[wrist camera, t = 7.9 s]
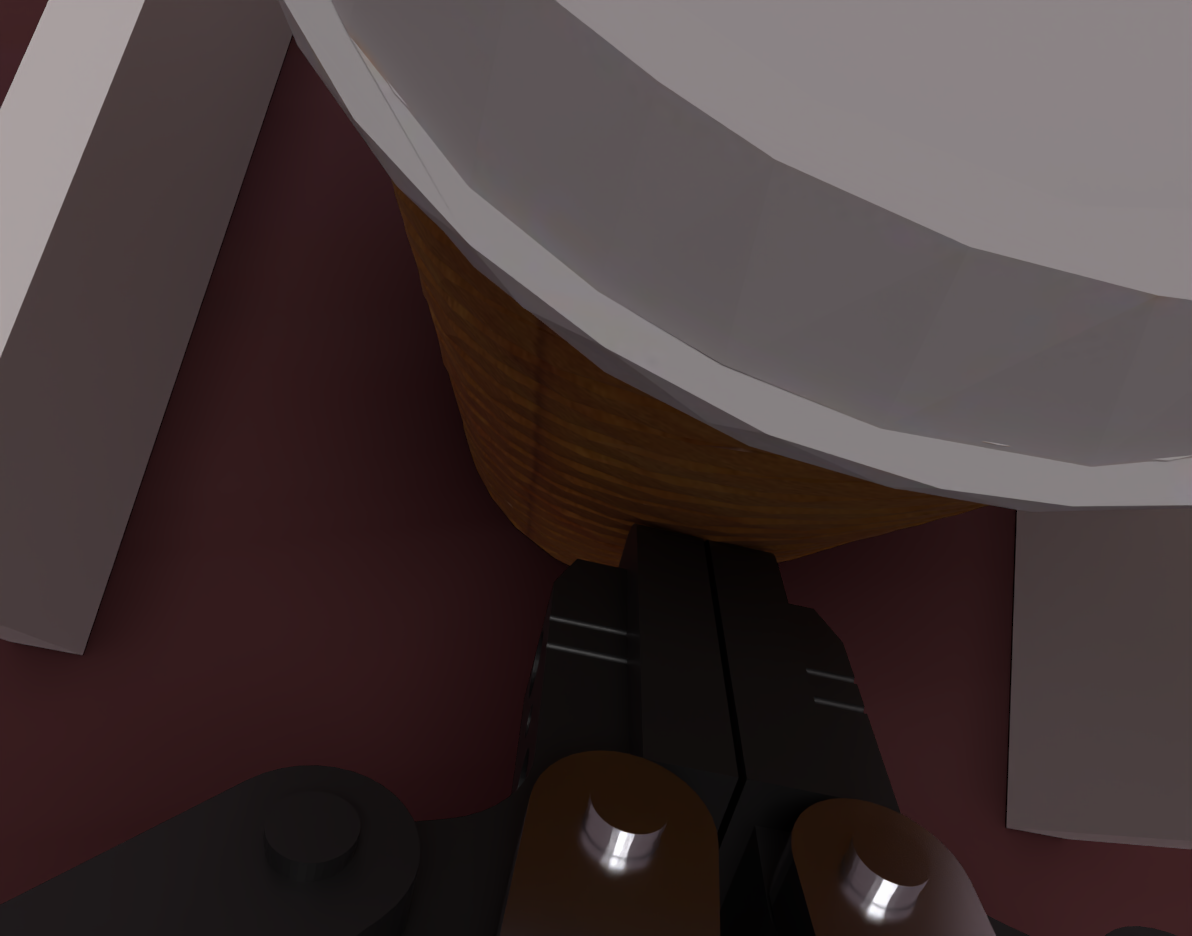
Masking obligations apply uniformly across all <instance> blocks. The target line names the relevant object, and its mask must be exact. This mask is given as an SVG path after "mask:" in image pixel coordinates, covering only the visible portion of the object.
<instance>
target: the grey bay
mask: <svg viewBox="0 0 1192 936" xmlns="http://www.w3.org/2000/svg"><path fill="white" fill-rule="evenodd" d="M291 37H292V31H291V29H290V27H289V24H288V22H287V19H286V17H285V15H284V12H283V10H282V8H281V5H280V3H279V1H278V0H49V1H48V3H47V6H46V8H45V10H44V12H43V15H42V17H41V19H40V21H39V24H38V26H37V28H36V30H35V33H34V35H33V37H32V39H31V42H30V44H29V46H28V48H27V51H26V53H25V55H24V57H23V60H22V62H21V64H20V66H19V69H18V71H17V73H16V75H15V78H14V80H13V82H12V84H11V87H10V89H9V91H8V93H7V96H6V98H5V100H4V102H3V105H2V107H1V109H0V638H1V639H4V640H7V641H10V642H15V643H20V644H25V645H31V646H36V647H41V648H47V649H52V650H58V651H63V652H68V653H74V654H79V655H83V653H84V650H85V647H86V644H87V641H88V638H89V635H90V632H91V629H92V626H93V623H94V620H95V617H96V614H97V611H98V608H99V605H100V602H101V599H102V596H103V593H104V590H105V587H106V584H107V582H108V579H109V576H110V573H111V570H112V567H113V564H114V561H115V558H116V555H117V552H118V549H119V546H120V543H121V540H122V537H123V534H124V531H125V528H126V525H127V522H128V519H129V516H130V513H131V511H132V508H133V505H134V502H135V499H136V496H137V493H138V490H139V487H140V484H141V481H142V478H143V475H144V472H145V469H146V466H147V463H148V460H149V457H150V454H151V451H152V448H153V445H154V442H155V440H156V437H157V434H158V431H159V428H160V425H161V422H162V419H163V416H164V413H165V410H166V407H167V404H168V401H169V398H170V395H171V392H172V389H173V386H174V383H175V380H176V377H177V374H178V371H179V368H180V366H181V363H182V360H183V357H184V354H185V351H186V348H187V345H188V342H189V339H190V336H191V333H192V330H193V327H194V324H195V321H196V318H197V315H198V312H199V309H200V306H201V303H202V300H203V297H204V295H205V292H206V289H207V286H208V283H209V280H210V277H211V274H212V271H213V268H214V265H215V262H216V259H217V256H218V253H219V250H220V247H221V244H222V241H223V238H224V235H225V232H226V229H227V226H228V224H229V221H230V218H231V215H232V212H233V209H234V206H235V203H236V200H237V197H238V194H239V191H240V188H241V185H242V182H243V179H244V176H245V173H246V170H247V167H248V164H249V161H250V158H251V155H252V153H253V150H254V147H255V144H256V141H257V138H258V135H259V132H260V129H261V126H262V123H263V120H264V117H265V114H266V111H267V108H268V105H269V102H270V99H271V96H272V93H273V90H274V87H275V84H276V81H277V79H278V76H279V73H280V70H281V67H282V64H283V61H284V58H285V55H286V52H287V49H288V46H289V43H290V40H291ZM1006 828H1011V829H1016V830H1022V831H1027V832H1032V833H1038V834H1043V835H1048V836H1054V837H1059V838H1064V839H1074V840H1086V841H1098V842H1110V843H1122V844H1134V845H1146V846H1158V847H1170V848H1182V849H1192V509H1148V510H1105V511H1061V512H1026V511H1021V510H1017V524H1016V554H1015V584H1014V614H1013V644H1012V675H1011V705H1010V735H1009V765H1008V795H1007V825H1006Z"/></svg>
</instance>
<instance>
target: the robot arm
mask: <svg viewBox="0 0 1192 936" xmlns="http://www.w3.org/2000/svg"><path fill="white" fill-rule="evenodd" d="M854 678H855V677H854V674H853V671H852V669H851V666H850V663H849V660H848V657H847V654H846V651H845V648H844V645H843V642H842V641H841V640H840V639H839V638H838V637H837V635H836V634H835V633H834V632H833V631H832V630H831V629H830V627H829V626H828V625H827V624H826V623H825V622H824V620H823V619H822V618H821V617H820V616H819V615H818V613H817V612H816V611H815V610H814V609H811V608H807V607H802V606H797V605H793V604H788V601H787V597H786V593H785V589H784V586H783V582H782V578H781V575H780V571H779V567H778V564H777V560H776V557H775V555H774V554H773V553H770V552H766V551H761V550H756V549H752V548H747V547H743V546H738V545H734V544H729V543H723V542H716V541H711V540H706V541H704V542H703V539H702V538H700V537H696V536H691V535H687V534H682V533H677V532H673V531H668V530H664V529H659V528H654V527H650V526H645V525H641V524H636V523H634V524H633V525H632V527H631V529H630V531H629V534H628V537H627V539H626V543H625V546H624V549H623V553H622V556H621V560H620V563H619V567H614V566H609V565H604V564H600V563H595V562H590V561H586V560H581V559H576V560H575V561H574V562H573V563H572V564H571V565H570V566H569V567H568V568H567V569H566V570H565V571H564V572H563V573H562V575H561V576H560V577H559V578H558V579H557V580H556V581H555V582H554V584H553V588H552V592H551V596H550V600H549V604H548V608H547V612H546V616H545V620H544V624H543V628H542V631H541V635H540V639H539V643H538V647H537V651H536V655H535V659H534V663H533V667H532V671H531V674H530V678H529V682H528V686H527V690H526V694H525V698H524V705H523V712H522V720H521V727H520V734H519V735H520V737H519V742H518V749H517V756H516V764H515V765H516V767H515V772H514V778H513V786H512V793H511V795H510V796H509V797H508V798H507V799H505V800H503V801H502V802H500V803H499V804H497V805H495V806H493V807H491V808H489V809H486V810H484V811H482V812H478V813H475V814H471V815H468V816H464V817H457V818H450V819H441V820H428V821H416V822H414V820H413V818H412V816H411V815H410V813H409V812H408V810H407V808H406V807H405V806H404V805H403V803H402V802H401V801H400V800H399V799H398V798H397V797H396V796H395V795H394V794H393V793H391V792H390V791H389V790H388V789H386V788H385V787H384V786H382V785H381V784H379V783H377V782H375V781H374V780H372V779H370V778H368V777H366V776H363V775H360V774H358V773H355V772H352V771H348V770H344V769H340V768H336V767H327V766H317V765H316V766H294V767H288V768H281V769H277V770H273V771H270V772H266V773H263V774H260V775H258V776H256V777H253V778H251V779H249V780H246V781H244V782H242V783H240V784H238V785H236V786H234V787H232V788H230V789H228V790H227V791H225V792H223V793H221V794H219V795H217V796H215V797H213V798H211V799H209V800H207V801H205V802H203V803H201V804H199V805H197V806H195V807H193V808H191V809H189V810H187V811H185V812H183V813H181V814H179V815H177V816H175V817H173V818H171V819H169V820H167V821H165V822H163V823H161V824H159V825H157V826H155V827H153V828H151V829H149V830H147V831H145V832H143V833H141V834H139V835H137V836H136V837H134V838H132V839H130V840H128V841H126V842H124V843H122V844H120V845H118V846H116V847H114V848H112V849H110V850H108V851H106V852H104V853H102V854H100V855H98V856H96V857H94V858H92V859H90V860H88V861H86V862H84V863H82V864H80V865H78V866H76V867H74V868H72V869H70V870H68V871H66V872H64V873H62V874H60V875H58V876H56V877H54V878H52V879H50V880H48V881H46V882H45V883H43V884H41V885H39V886H37V887H35V888H33V889H31V890H29V891H27V892H25V893H23V894H21V895H19V896H17V897H15V898H13V899H11V900H9V901H7V902H5V903H3V904H1V905H0V936H1029V935H1027V934H1025V933H1023V932H1020V931H1018V930H1016V929H1014V928H1012V927H1009V926H1007V925H1005V924H1003V923H1001V922H999V921H997V920H995V919H994V918H992V917H990V916H988V915H986V913H985V911H984V909H983V907H982V905H981V903H980V900H979V898H978V896H977V894H976V892H975V890H974V888H973V886H972V883H971V881H970V880H969V878H968V876H967V874H966V872H965V871H964V869H963V867H962V866H961V865H960V863H959V862H958V861H957V859H956V858H955V857H954V855H953V854H952V853H951V852H950V851H949V850H948V849H947V848H946V847H945V846H944V845H943V844H942V843H941V842H940V841H939V840H938V839H937V838H936V837H934V836H933V835H932V834H931V833H930V832H929V831H927V830H926V829H924V828H923V827H921V826H920V825H919V824H917V823H916V822H914V821H912V820H911V819H909V818H907V817H906V816H904V815H902V814H901V813H900V810H899V807H898V805H897V802H896V799H895V796H894V793H893V790H892V787H891V784H890V781H889V778H888V775H887V772H886V769H885V766H884V763H883V760H882V757H881V754H880V751H879V748H878V745H877V742H876V739H875V737H874V734H873V731H872V728H871V725H870V722H869V719H868V716H867V714H864V713H863V710H864V704H863V701H862V698H861V695H860V692H859V689H858V686H857V684H854ZM1105 936H1176V935H1173V934H1171V933H1168V932H1164V931H1161V930H1157V929H1154V928H1147V927H1140V926H1133V927H1123V928H1119V929H1115V930H1113V931H1111V932H1110V933H1108V934H1106V935H1105Z"/></svg>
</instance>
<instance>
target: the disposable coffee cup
mask: <svg viewBox="0 0 1192 936" xmlns="http://www.w3.org/2000/svg"><path fill="white" fill-rule="evenodd" d="M278 1H279V3H280V5H281V8H282V10H283V12H284V15H285V17H286V19H287V22H288V24H289V27H290V29H291V31H292V34H293V36H294V38H295V41H296V43H297V45H298V47H299V48H300V50H301V51H302V53H303V54H304V55H305V57H306V58H307V60H308V61H309V62H310V64H311V65H312V67H313V68H314V70H315V71H316V72H317V74H318V75H319V77H320V78H321V79H322V81H323V82H324V84H325V85H326V87H327V88H328V89H329V91H330V92H331V94H332V95H333V96H334V98H335V99H336V101H337V102H338V104H339V105H340V106H341V108H342V109H343V111H344V112H345V114H346V115H347V116H348V118H349V119H350V121H351V122H352V123H353V125H354V126H355V128H356V129H357V131H358V132H359V133H360V135H361V136H362V138H363V139H364V140H365V142H366V143H367V145H368V146H369V148H370V149H371V150H372V152H373V153H374V155H375V156H376V157H377V159H378V160H379V162H380V163H381V165H382V166H383V167H384V169H385V170H386V172H387V173H388V174H389V176H390V177H391V180H392V183H393V187H394V193H395V196H396V199H397V202H398V205H399V209H400V212H401V215H402V218H403V221H404V224H405V226H404V227H405V230H406V233H407V236H408V239H409V243H410V246H411V249H412V252H413V255H414V258H415V261H416V264H417V267H418V271H419V276H420V280H421V285H422V290H423V294H424V296H425V298H426V300H427V302H428V306H429V309H430V312H431V316H432V319H433V322H434V326H435V329H436V333H437V336H438V339H439V344H440V349H441V354H442V359H443V364H444V366H445V367H446V369H447V370H448V374H449V377H450V380H451V384H452V387H453V391H454V394H455V397H456V401H457V404H458V407H459V410H460V414H461V417H462V420H463V426H464V431H465V434H466V438H467V441H468V445H469V448H470V452H471V455H472V458H473V461H474V463H475V466H476V468H477V471H478V473H479V475H480V477H481V478H482V480H483V482H484V484H485V486H486V488H487V490H488V492H489V493H490V495H491V497H492V499H493V500H494V501H495V502H496V504H497V505H498V506H499V507H500V508H501V510H502V511H503V512H504V513H505V515H506V516H507V517H508V518H509V520H510V521H511V522H512V523H513V525H514V526H515V527H516V528H517V529H518V530H520V531H521V532H522V533H523V534H525V535H526V536H527V537H528V538H530V539H531V540H532V541H534V542H535V543H536V544H537V545H539V546H540V547H541V548H542V549H544V550H545V551H546V552H547V553H549V554H550V555H551V556H553V557H554V558H556V559H558V560H560V561H561V562H563V563H565V564H567V565H569V566H570V565H571V564H572V563H573V562H574V561H575V560H576V559H581V560H586V561H590V562H595V563H600V564H604V565H609V566H614V567H619V563H620V560H621V556H622V553H623V549H624V546H625V543H626V539H627V537H628V534H629V531H630V529H631V527H632V525H633V524H634V523H636V524H641V525H645V526H650V527H654V528H659V529H664V530H668V531H673V532H677V533H682V534H687V535H691V536H696V537H700V538H702V539H703V542H704V541H706V540H711V541H716V542H723V543H729V544H734V545H738V546H743V547H747V548H752V549H756V550H761V551H766V552H770V553H773V554H774V555H775V557H776V560H777V563H778V562H783V561H788V560H792V559H796V558H799V557H802V556H806V555H809V554H812V553H815V552H819V551H822V550H825V549H829V548H832V547H836V546H839V545H842V544H846V543H849V542H853V541H856V540H861V539H865V538H870V537H875V536H879V535H883V534H886V533H889V532H892V531H895V530H899V529H904V528H909V527H913V526H917V525H921V524H924V523H927V522H931V521H934V520H937V519H940V518H944V517H949V516H954V515H958V514H961V513H964V512H967V511H971V510H974V509H977V508H980V507H984V506H989V505H993V506H998V507H1004V508H1009V509H1015V510H1021V511H1026V512H1061V511H1105V510H1148V509H1192V0H278Z"/></svg>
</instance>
